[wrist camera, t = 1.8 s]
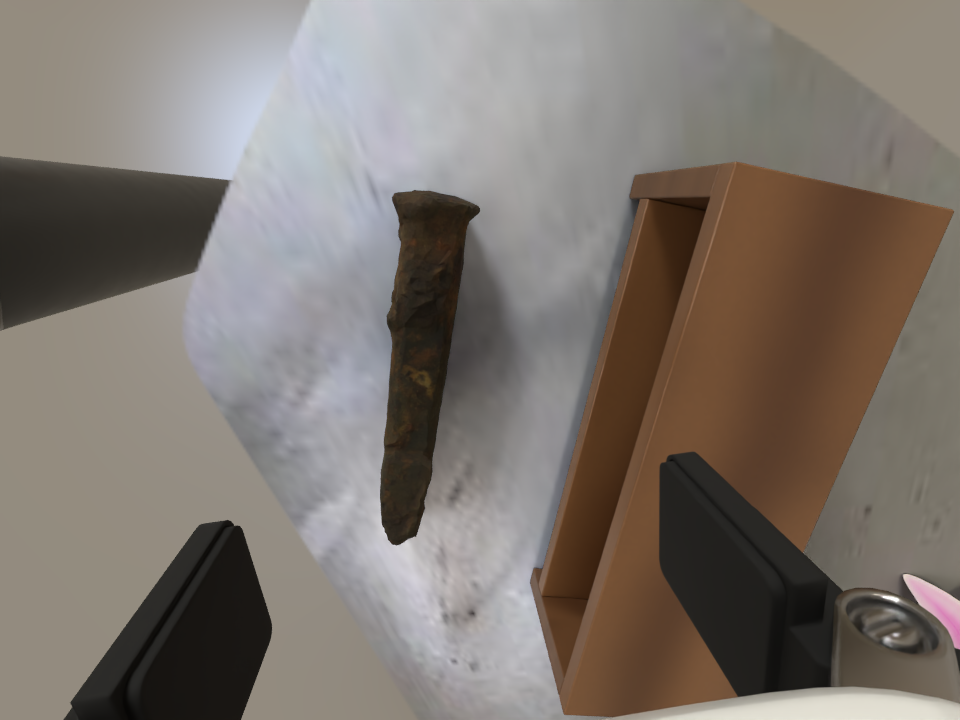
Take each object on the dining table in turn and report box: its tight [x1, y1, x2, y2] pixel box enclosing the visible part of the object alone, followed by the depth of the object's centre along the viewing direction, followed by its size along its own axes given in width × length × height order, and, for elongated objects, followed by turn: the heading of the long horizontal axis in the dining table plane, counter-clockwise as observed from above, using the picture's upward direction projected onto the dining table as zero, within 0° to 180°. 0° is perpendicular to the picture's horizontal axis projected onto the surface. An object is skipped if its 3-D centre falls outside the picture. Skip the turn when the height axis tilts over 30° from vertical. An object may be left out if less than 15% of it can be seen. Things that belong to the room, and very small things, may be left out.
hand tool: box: [380, 190, 480, 546], centre depth 25 cm, size 19×4×5 cm, turn 169°
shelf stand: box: [530, 162, 954, 717], centre depth 26 cm, size 9×26×9 cm, turn 170°
